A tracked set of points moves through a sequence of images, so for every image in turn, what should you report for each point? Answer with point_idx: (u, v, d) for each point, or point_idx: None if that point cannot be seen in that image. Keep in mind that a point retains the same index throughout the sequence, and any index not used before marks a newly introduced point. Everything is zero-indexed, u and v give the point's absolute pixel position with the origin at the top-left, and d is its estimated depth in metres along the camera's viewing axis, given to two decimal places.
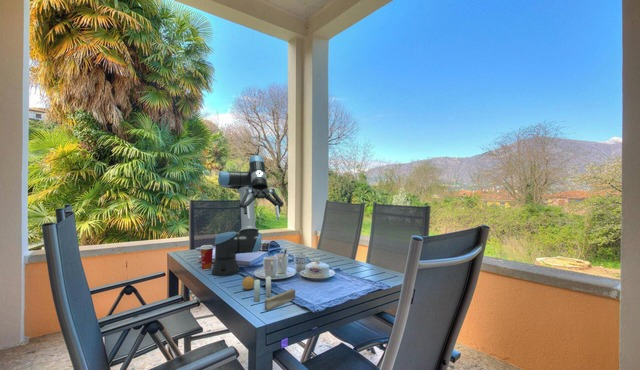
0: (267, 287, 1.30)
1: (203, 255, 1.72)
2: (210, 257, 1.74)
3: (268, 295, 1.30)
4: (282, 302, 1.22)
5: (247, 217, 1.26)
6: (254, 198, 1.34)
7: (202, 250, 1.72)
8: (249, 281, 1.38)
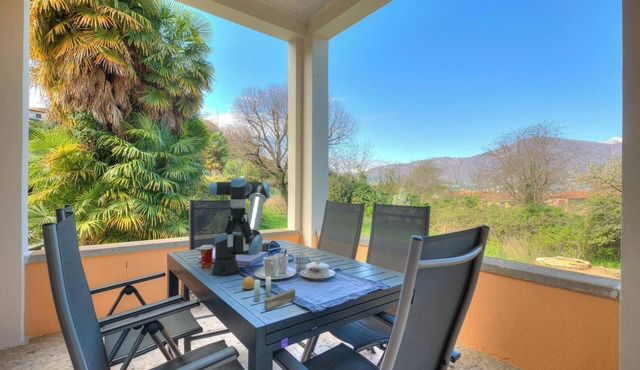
0: (267, 287, 1.30)
1: (203, 255, 1.72)
2: (210, 257, 1.74)
3: (268, 295, 1.30)
4: (282, 302, 1.22)
5: None
6: (235, 225, 1.49)
7: (202, 250, 1.72)
8: (249, 281, 1.38)
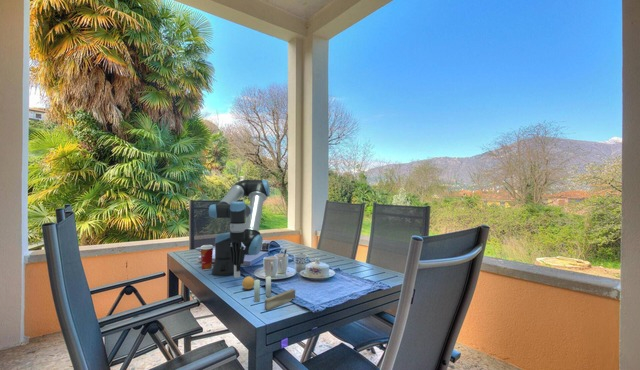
0: (267, 287, 1.30)
1: (203, 255, 1.72)
2: (210, 257, 1.74)
3: (268, 295, 1.30)
4: (282, 302, 1.22)
5: None
6: None
7: (202, 250, 1.72)
8: (249, 281, 1.38)
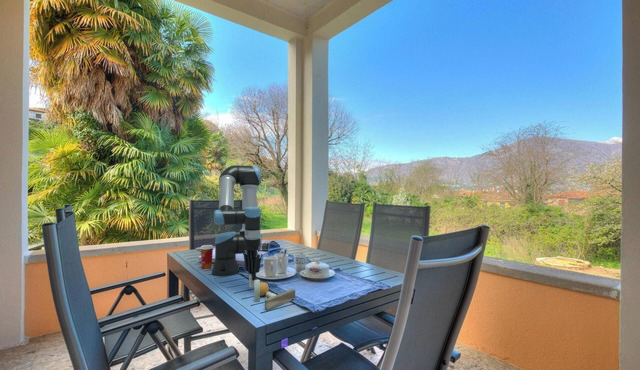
0: None
1: (203, 255, 1.72)
2: (210, 257, 1.74)
3: (268, 297, 1.30)
4: (282, 302, 1.22)
5: None
6: None
7: (202, 250, 1.72)
8: None
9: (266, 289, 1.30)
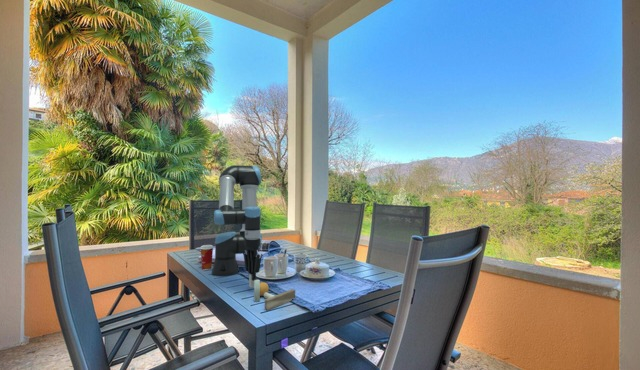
0: None
1: (203, 255, 1.72)
2: (210, 257, 1.74)
3: None
4: (282, 302, 1.22)
5: None
6: None
7: (202, 250, 1.72)
8: None
9: (266, 289, 1.30)
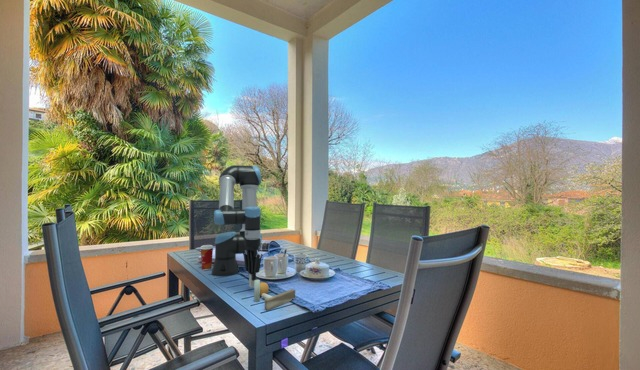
0: None
1: (203, 255, 1.72)
2: (210, 257, 1.74)
3: None
4: (282, 302, 1.22)
5: None
6: None
7: (202, 250, 1.72)
8: None
9: (266, 289, 1.30)
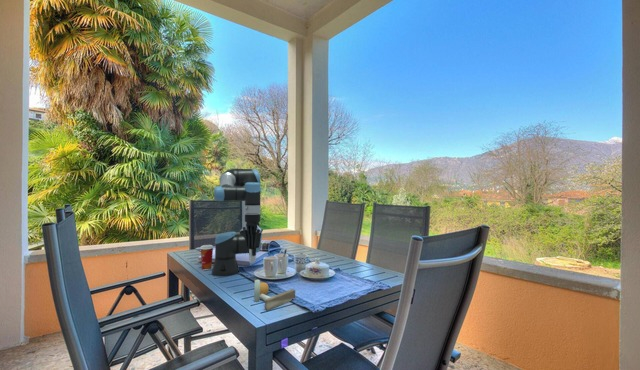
0: None
1: (203, 255, 1.72)
2: (210, 257, 1.74)
3: (263, 294, 1.28)
4: (282, 302, 1.22)
5: None
6: None
7: (202, 250, 1.72)
8: None
9: (266, 289, 1.30)
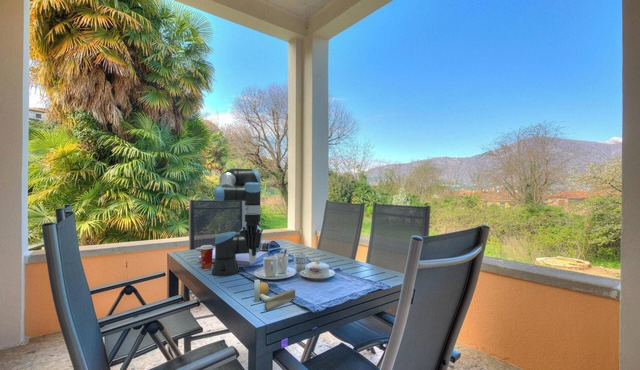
0: (268, 296, 1.25)
1: (203, 255, 1.72)
2: (210, 257, 1.74)
3: (263, 294, 1.27)
4: (282, 302, 1.22)
5: None
6: None
7: (202, 250, 1.72)
8: None
9: (266, 289, 1.30)
